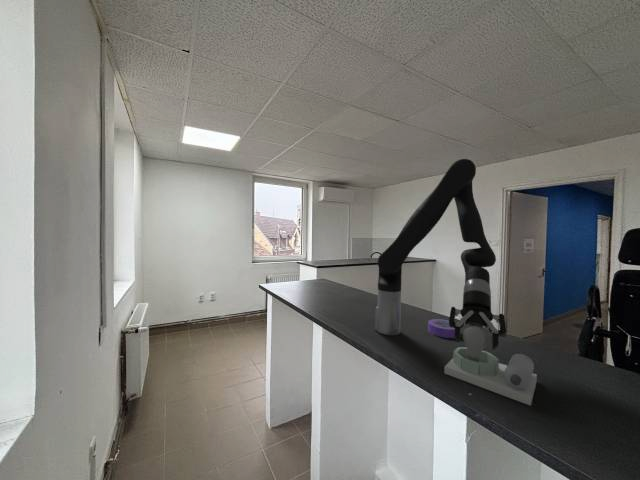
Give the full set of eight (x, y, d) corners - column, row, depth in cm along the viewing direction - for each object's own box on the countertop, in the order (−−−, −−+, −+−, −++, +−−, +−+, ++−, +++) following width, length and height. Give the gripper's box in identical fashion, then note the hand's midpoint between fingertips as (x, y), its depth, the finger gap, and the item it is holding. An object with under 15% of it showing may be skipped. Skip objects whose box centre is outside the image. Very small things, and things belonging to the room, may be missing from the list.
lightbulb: (482, 361, 75) (483, 325, 75) (489, 372, 69) (490, 332, 69) (459, 358, 77) (460, 322, 77) (464, 368, 71) (465, 329, 71)
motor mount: (444, 373, 72) (444, 349, 72) (459, 357, 82) (460, 335, 82) (530, 405, 58) (531, 375, 58) (536, 381, 68) (537, 356, 68)
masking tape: (464, 339, 97) (464, 329, 97) (432, 337, 98) (432, 327, 98) (453, 328, 108) (453, 319, 108) (424, 326, 110) (425, 318, 110)
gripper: (451, 286, 82) (446, 332, 73) (505, 292, 75) (508, 344, 65) (452, 299, 87) (448, 344, 77) (503, 306, 79) (505, 356, 70)
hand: (475, 344), depth 71 cm, fingers open, 8 cm apart
